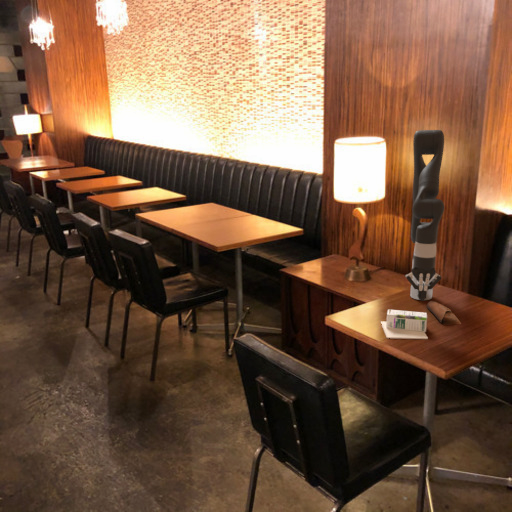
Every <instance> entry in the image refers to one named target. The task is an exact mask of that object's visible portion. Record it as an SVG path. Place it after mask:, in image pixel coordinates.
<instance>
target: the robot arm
mask: <svg viewBox="0 0 512 512" xmlns="http://www.w3.org/2000/svg"><path fill="white" fill-rule="evenodd" d="M412 141H413V142H412V143H413V144H412V145H413V149H412V151H413V179H412V180H413V181H412V182H413V183H412V207H411V208H412V209H411V211H412V215H411V216H412V217H411V227H410V240H411V242H412V243H413V244H414V250H413V253H412V264H411V265H412V267H411V271H410V272H409V273H407V274H405V276H404V277H405V278H406V279H407V280H408V282H409V283H410V295H409V296H410V298H412V299H414V300H418V301H429V300H431V299H432V298H433V290H434V287H435V286H437V284H438V283H439V282H440V281H441V280H442V276H441V275H440V274H438V273H437V270H436V257H437V242H438V234H439V225H440V222H441V219H442V217H443V215H444V212H445V203H444V201H443V200H441V199H440V198H437V197H438V196H439V194H440V173H441V168H442V162H443V156H444V150H445V134H444V131H443V130H441V129H422V130H420V129H419V130H416V131H415V132H414V135H413V140H412ZM423 155H424V156H427V155H432V156H433V157H432V159H430V161H429V162H428V163H427V164H426V163H425V161H424V157H423ZM421 219H426V220H427V219H429V220H431V219H432V220H431V221H430V222H426V221H425V222H424V221H423V222H422V221H421Z"/></svg>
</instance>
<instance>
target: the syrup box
mask: <svg viewBox="0 0 512 512" xmlns="http://www.w3.org/2000/svg"><path fill="white" fill-rule="evenodd" d="M385 321H386V328H391V329H402V330H413V331H421V332H425V333H426V332H427V325H428V324H427V323H428V314H427V312H422V311H410V310H399V309H387V311H386V320H385Z"/></svg>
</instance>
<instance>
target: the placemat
mask: <svg viewBox="0 0 512 512" xmlns="http://www.w3.org/2000/svg"><path fill="white" fill-rule="evenodd" d="M386 321H387V320H385V321H380V324H382V325H381V327H382V330H383V332H384V335H385V337H386V339H388V340H389V338H390V339H394V340H395V339H397V340H401V339H403V340H404V339H406V340H428V338H429V337H428V336H427V334H426V332H421V331H413V330H402V329H391V328H386Z"/></svg>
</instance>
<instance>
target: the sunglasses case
mask: <svg viewBox="0 0 512 512" xmlns="http://www.w3.org/2000/svg"><path fill="white" fill-rule="evenodd" d="M426 308H427V309H428V311H430V312H431V313H432V314H433V315H434V316H435V317H436V318H437V320H438V321H439V323H441V324H442V325H461V324H462V322H461V321H460V319H459V318H458V317H457V316H456V315H455V313H453V312H452V310H451V309H450V308H449V307H447V306H445V305H444V304H441V303H439V302H437V301H433V300H431V301H429V302H427V304H426Z"/></svg>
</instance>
